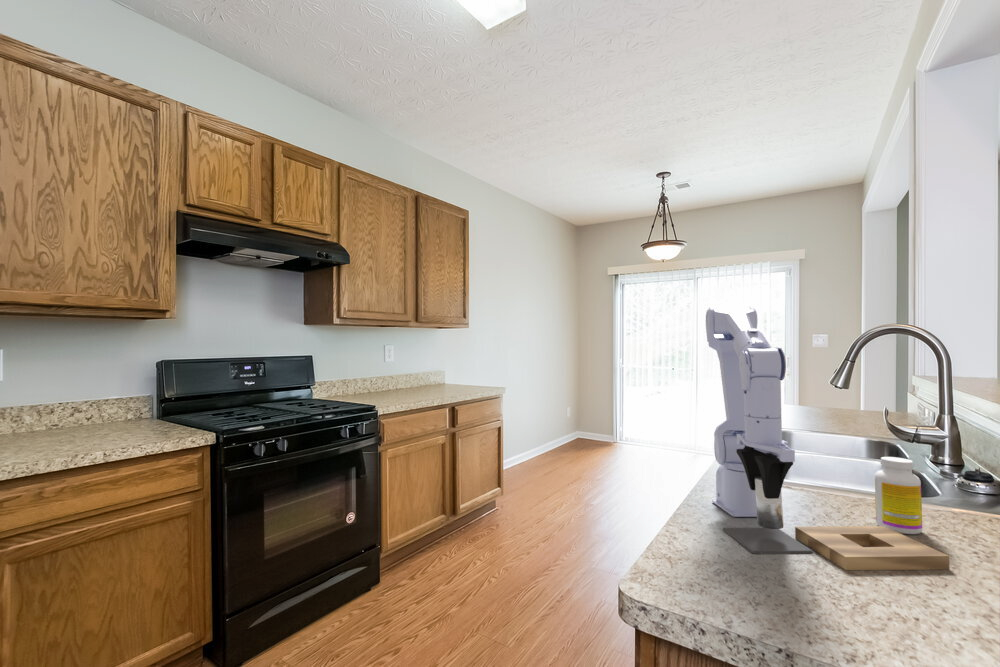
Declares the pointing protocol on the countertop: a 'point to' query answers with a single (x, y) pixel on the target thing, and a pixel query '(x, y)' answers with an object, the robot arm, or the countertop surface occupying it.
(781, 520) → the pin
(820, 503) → the countertop surface
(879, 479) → the supplement bottle
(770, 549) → the mat
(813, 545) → the holder
